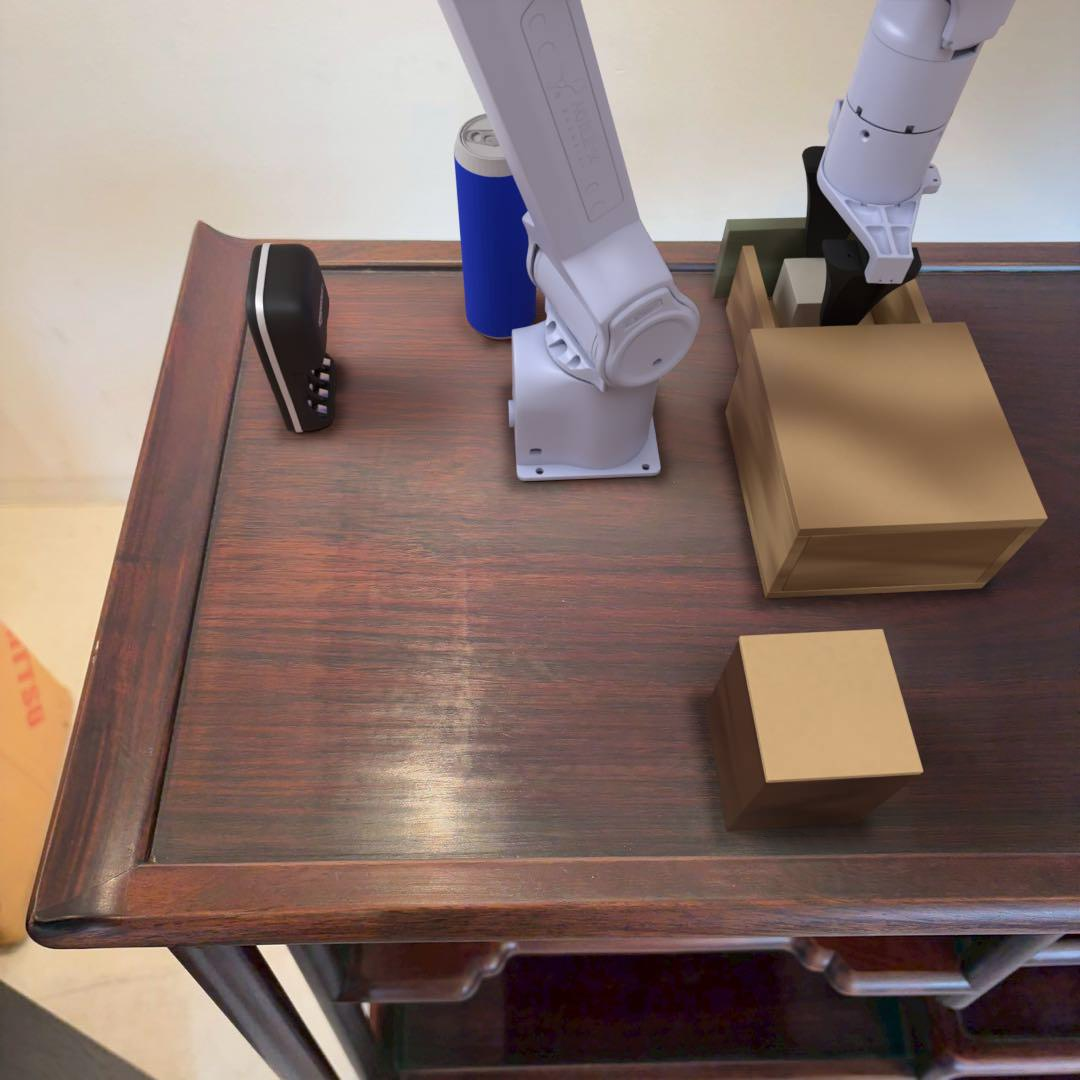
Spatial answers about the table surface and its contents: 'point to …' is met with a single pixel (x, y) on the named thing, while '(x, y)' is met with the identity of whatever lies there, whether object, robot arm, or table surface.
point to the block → (800, 292)
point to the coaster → (827, 706)
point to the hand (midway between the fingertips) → (826, 290)
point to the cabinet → (876, 461)
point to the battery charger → (292, 332)
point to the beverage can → (491, 234)
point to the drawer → (755, 269)
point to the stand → (777, 802)
